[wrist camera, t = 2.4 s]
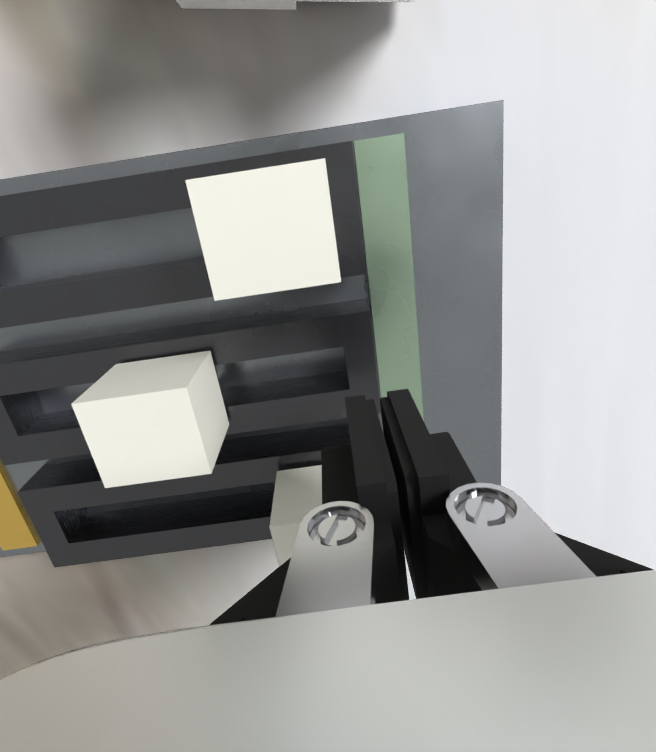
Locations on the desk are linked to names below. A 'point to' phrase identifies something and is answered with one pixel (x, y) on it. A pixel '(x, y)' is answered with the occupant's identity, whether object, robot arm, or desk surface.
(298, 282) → the block
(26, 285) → the breaker panel
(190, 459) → the handle
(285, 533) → the breaker handle
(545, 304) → the desk surface
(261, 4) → the bracket
